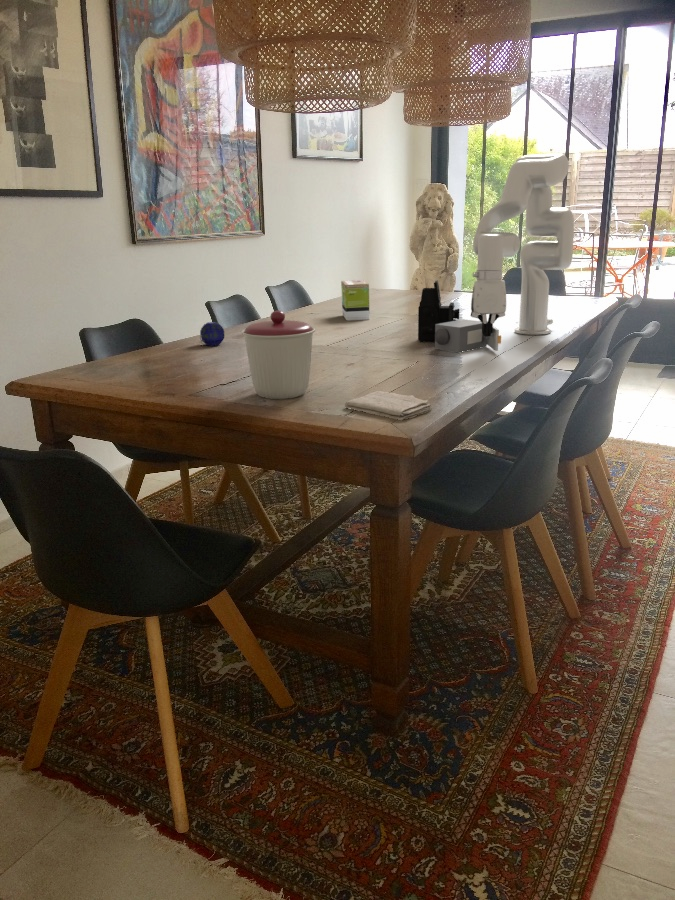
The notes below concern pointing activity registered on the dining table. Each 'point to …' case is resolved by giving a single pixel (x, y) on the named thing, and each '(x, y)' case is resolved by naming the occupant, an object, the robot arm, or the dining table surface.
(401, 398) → the washcloth
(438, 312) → the camera
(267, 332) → the canister
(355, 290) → the tea box
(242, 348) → the dining table surface
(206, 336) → the ball
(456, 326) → the grey device box
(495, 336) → the side door
